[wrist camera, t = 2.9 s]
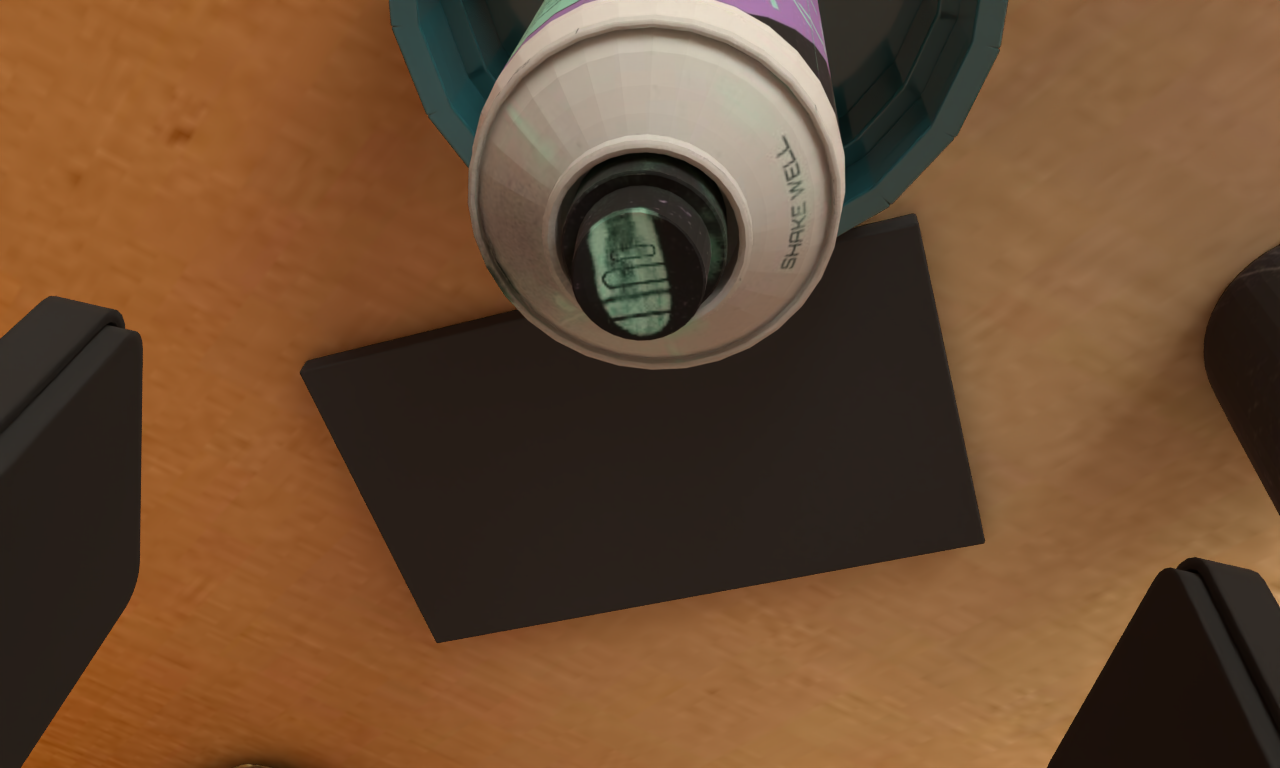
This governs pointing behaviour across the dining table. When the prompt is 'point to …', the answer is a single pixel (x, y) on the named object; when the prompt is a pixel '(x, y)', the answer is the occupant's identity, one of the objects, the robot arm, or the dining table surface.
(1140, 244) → the dining table surface
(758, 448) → the mat
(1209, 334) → the travel mug
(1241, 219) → the dining table surface
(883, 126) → the pan
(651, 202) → the spray can
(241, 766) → the bread roll
